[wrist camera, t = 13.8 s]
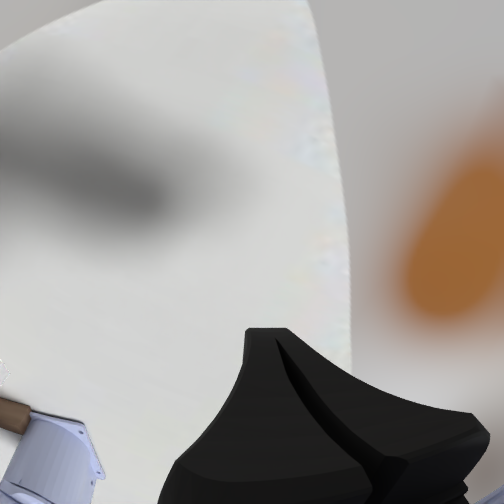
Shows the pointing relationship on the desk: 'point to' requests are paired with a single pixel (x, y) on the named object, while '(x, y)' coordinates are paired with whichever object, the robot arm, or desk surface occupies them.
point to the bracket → (3, 372)
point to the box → (14, 416)
